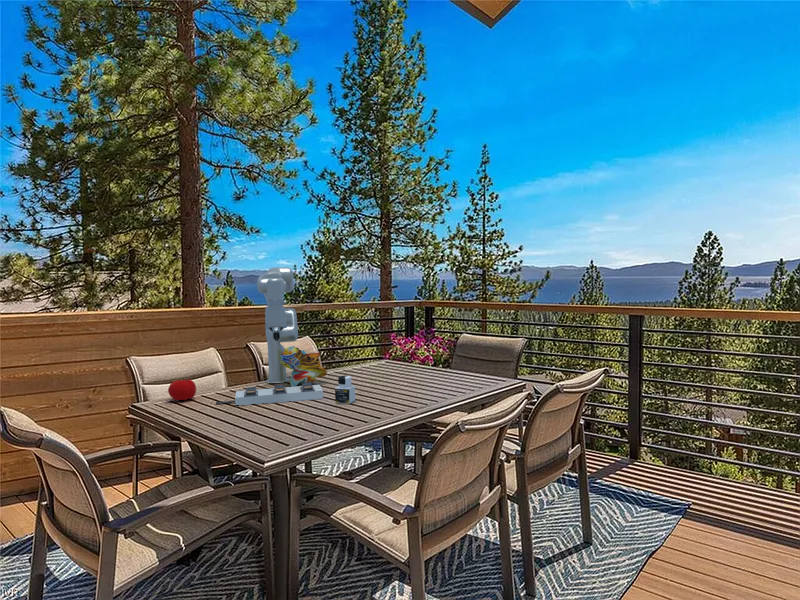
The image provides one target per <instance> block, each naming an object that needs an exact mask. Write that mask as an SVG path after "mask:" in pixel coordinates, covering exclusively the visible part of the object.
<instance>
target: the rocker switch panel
mask: <svg viewBox="0 0 800 600" xmlns="http://www.w3.org/2000/svg"><path fill="white" fill-rule="evenodd" d="M312 388H313V390H304V391H303V388H302V385H299V386H298V385H296V386H295V387H292V386H287V387H285V386H284V389H285V392H279V393H275V389H274V387H273V388H272V387H271V388H262V389H260V388H259V389H256V394H255V395H246V390H236V391H235V397H234V400H223V401H216V402H215V403H216V404H218V403H229V404H232V403H231V402H235V403H234V404H235V405H246V406H251V405H250V404H257V405H263V404H262V403H269V404H277V403H276V402H280V403H288V402H287V401H291V402H301V401H302V402H303V401H314V400H323V399H324V389H323V388H322V386H321V385H320V384H312ZM216 404H215V405H216ZM218 405H219V404H218Z"/></svg>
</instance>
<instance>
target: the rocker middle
mask: <svg viewBox="0 0 800 600" xmlns="http://www.w3.org/2000/svg"><path fill="white" fill-rule="evenodd" d="M284 384H285V383H282V384H273V386H274V387H273V388H274V389H275V393H279V392H285V389H284V387H285V385H284Z"/></svg>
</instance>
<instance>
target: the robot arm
mask: <svg viewBox="0 0 800 600" xmlns="http://www.w3.org/2000/svg"><path fill="white" fill-rule="evenodd" d="M256 282H257V283H256V288H257V291H258V293H260V294H263V296H264V298H265V300H266V301H265V302H266V304H267V305H266V306H265V311H264V313H265V314H264V315H265V316H264V321H265V322H264V323H265V326H264V329H265V337H266V338H265V339H266V344H267V360H268V361H267V363H268V379H266V380H265V382H269V383H280V384H285V383H284V382H286V383H288V381H289V382H290V377H289V378H288V377H287V368H286V367H282V366H283V364H281V362H280V358H281V355H282V353H283V351H285V349H286V348H285V347H284V346H283V344H281V343H291V342H293V343H294V342H296V341H297V340H298V338H299V328H298V316H297V312H296V310H295V308H293V307H286V306H285V304H287V301H286V300H284V299H283V297H284V296H283V295H284V294H283V293H290V292H292V291H293V290H294V272H293V270H292V268H291V267H287V266H283V267H282V266H281V267H279V266H277V267H270V268H269V269H268V270H267V271H266V273H265V274H262V275H260V276H258V278H257V281H256ZM269 383H268V384H269Z"/></svg>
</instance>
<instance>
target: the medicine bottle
mask: <svg viewBox="0 0 800 600" xmlns="http://www.w3.org/2000/svg"><path fill="white" fill-rule="evenodd" d="M337 381H338V382H337V383H338V385H337V386H336V387H335V388H334V397H335V398H334V399H335V400H334V401H335V402H334V403H335V404H343V405H344V404H345V405H347V404H348V405H349V404H350V405H351V404H352V403H353V402H355V401H356V386H355V385H352V376H350V375H340V376H339V377H338V378H337Z"/></svg>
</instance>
